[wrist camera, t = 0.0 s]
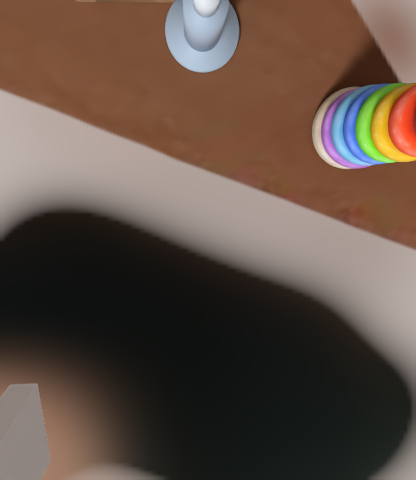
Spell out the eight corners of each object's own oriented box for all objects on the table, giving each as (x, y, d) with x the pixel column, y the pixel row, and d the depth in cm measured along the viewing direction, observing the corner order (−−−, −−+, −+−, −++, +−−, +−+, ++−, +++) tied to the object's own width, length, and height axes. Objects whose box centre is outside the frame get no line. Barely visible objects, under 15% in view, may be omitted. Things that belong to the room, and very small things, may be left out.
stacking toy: (368, 73, 34) (569, -8, 16) (393, 146, 36) (597, 146, 18) (297, 112, 35) (415, 75, 17) (326, 181, 37) (458, 214, 19)
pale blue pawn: (163, -11, 31) (154, -71, 22) (239, -10, 32) (258, -69, 23) (167, 72, 33) (159, 46, 24) (238, 72, 33) (255, 46, 25)
